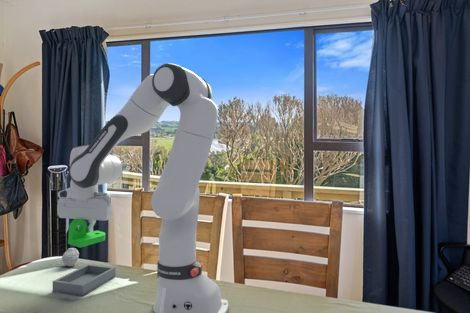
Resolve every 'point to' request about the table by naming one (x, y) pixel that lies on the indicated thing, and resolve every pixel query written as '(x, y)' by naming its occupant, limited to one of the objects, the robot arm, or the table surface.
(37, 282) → the table surface
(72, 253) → the white sculpted head
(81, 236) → the mechanical part
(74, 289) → the tray
